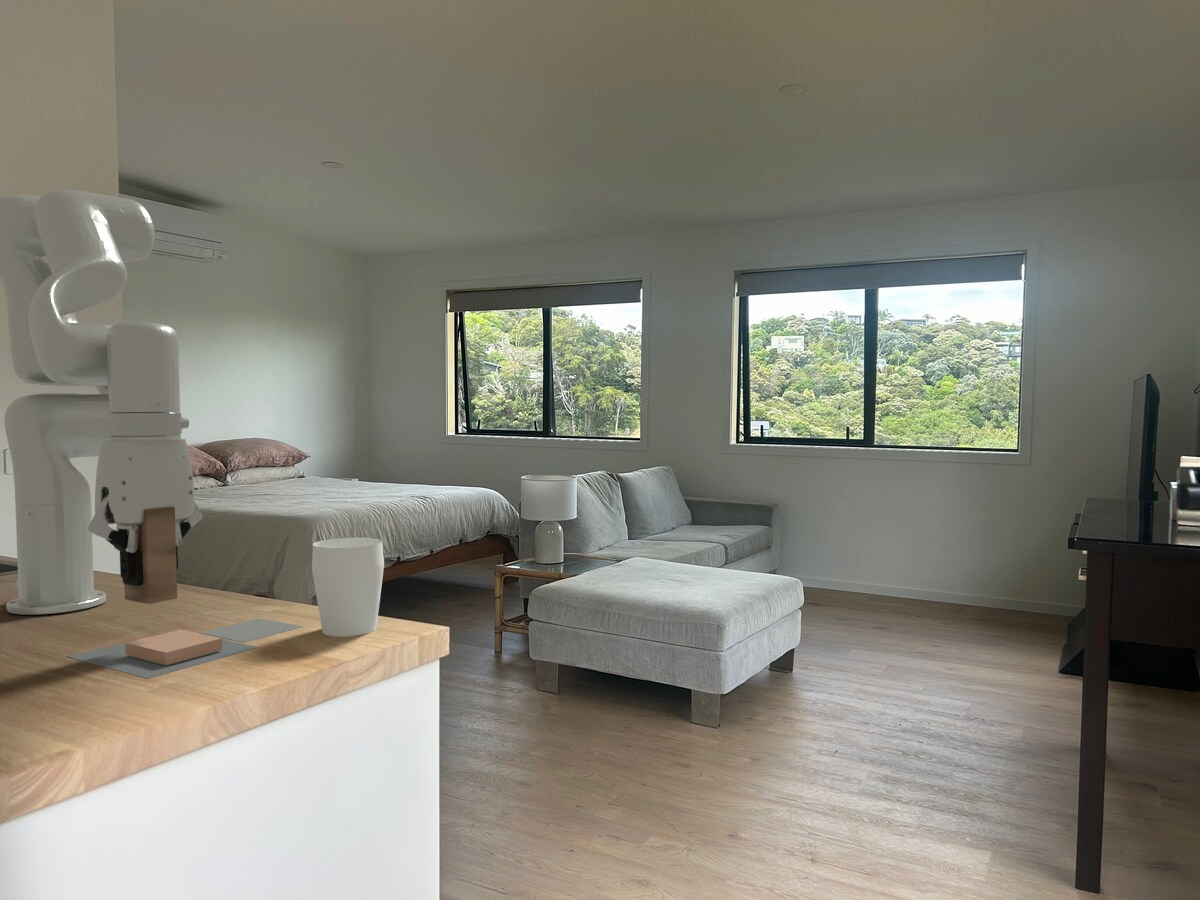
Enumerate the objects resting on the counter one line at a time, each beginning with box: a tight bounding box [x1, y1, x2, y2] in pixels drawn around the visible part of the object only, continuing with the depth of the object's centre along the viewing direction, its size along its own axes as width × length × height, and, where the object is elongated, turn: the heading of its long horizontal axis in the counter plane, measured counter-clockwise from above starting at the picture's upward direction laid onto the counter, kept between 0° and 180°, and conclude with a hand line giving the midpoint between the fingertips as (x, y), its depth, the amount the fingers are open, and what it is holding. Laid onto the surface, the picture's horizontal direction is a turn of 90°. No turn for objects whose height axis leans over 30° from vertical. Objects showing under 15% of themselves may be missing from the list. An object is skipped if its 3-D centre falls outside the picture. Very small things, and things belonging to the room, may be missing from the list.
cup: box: [311, 537, 385, 638], centre depth 113 cm, size 9×9×12 cm
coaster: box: [199, 617, 304, 644], centre depth 113 cm, size 9×9×1 cm
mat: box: [67, 638, 260, 680], centre depth 103 cm, size 16×14×1 cm
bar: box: [123, 507, 178, 605], centre depth 104 cm, size 5×4×11 cm
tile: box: [124, 629, 223, 666], centre depth 102 cm, size 2×7×8 cm
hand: (150, 579), depth 104 cm, fingers closed on bar, 3 cm apart
